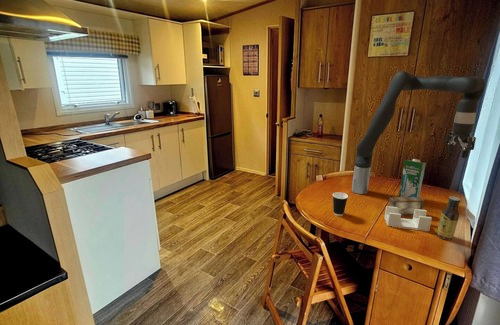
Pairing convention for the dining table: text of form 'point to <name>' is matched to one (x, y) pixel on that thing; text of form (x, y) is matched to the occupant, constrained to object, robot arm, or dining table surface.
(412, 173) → the milk carton
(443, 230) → the sauce bottle
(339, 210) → the dixie cup
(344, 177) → the dining table surface
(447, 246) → the dining table surface
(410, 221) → the white notched block
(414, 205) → the grey tapered panel
